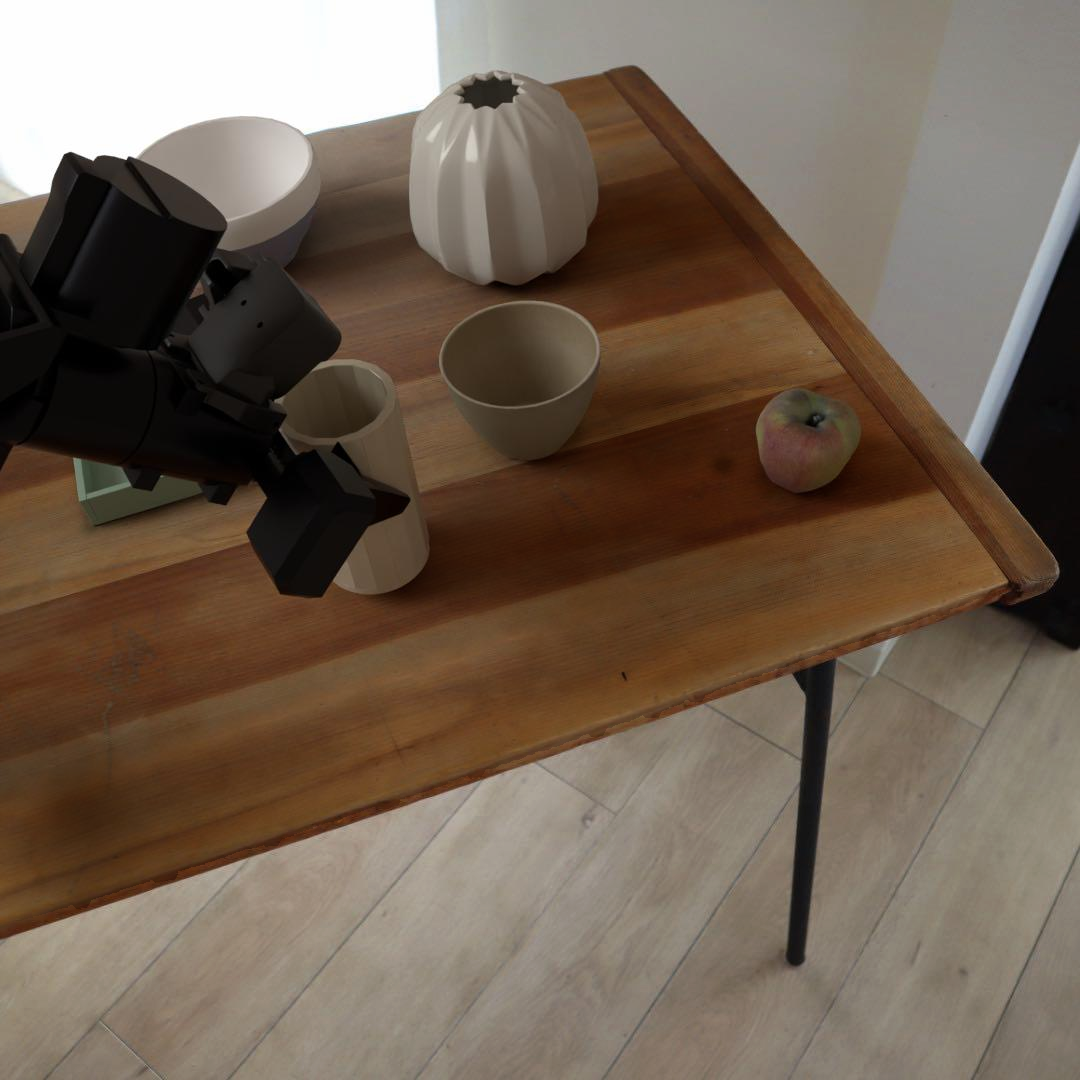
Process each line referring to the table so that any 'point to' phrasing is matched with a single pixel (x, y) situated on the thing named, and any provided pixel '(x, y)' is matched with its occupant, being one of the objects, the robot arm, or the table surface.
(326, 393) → the rice cup
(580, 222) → the vase
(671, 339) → the table surface
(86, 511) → the serving tray
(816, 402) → the apple
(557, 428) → the flower pot
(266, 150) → the bowl
